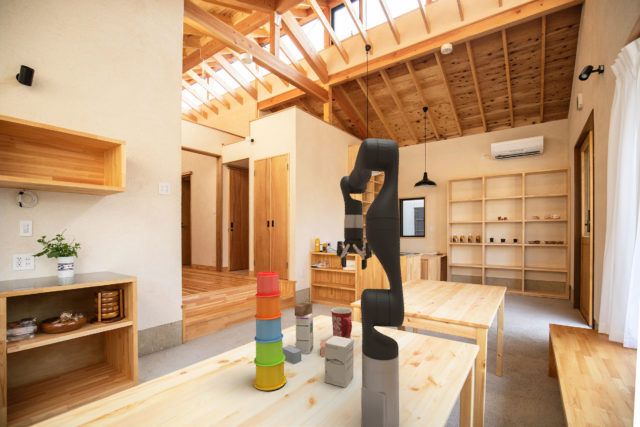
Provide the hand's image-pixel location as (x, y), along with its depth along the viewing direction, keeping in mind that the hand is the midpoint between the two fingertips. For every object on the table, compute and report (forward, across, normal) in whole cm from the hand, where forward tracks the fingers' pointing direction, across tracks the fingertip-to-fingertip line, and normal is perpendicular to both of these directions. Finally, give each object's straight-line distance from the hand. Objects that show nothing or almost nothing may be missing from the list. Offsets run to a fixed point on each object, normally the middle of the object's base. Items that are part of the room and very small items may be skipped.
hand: (353, 268), depth 114 cm
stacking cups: (+33, -12, -33) cm, 48 cm away
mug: (+33, -9, +7) cm, 35 cm away
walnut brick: (+19, -18, -9) cm, 27 cm away
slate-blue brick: (+33, -17, -17) cm, 41 cm away
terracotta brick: (+33, -10, -5) cm, 35 cm away
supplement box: (+33, +5, -19) cm, 39 cm away
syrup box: (+33, -18, -8) cm, 39 cm away
